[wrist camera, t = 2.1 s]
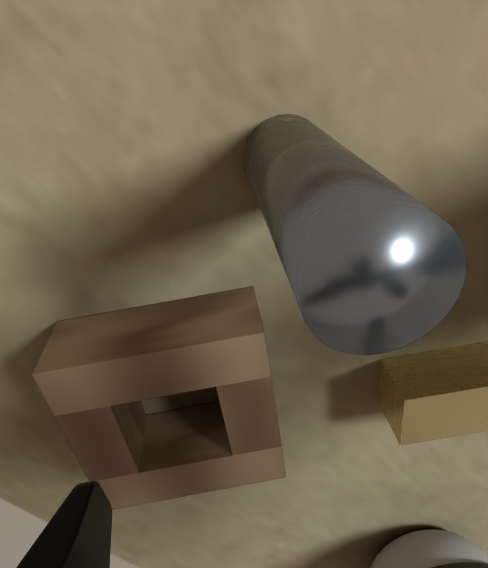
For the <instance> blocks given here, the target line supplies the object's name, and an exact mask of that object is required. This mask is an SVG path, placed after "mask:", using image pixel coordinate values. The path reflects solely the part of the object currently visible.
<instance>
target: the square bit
mask: <svg viewBox="0 0 488 568" xmlns="http://www.w3.org/2000/svg"><path fill="white" fill-rule="evenodd" d="M378 403H379V405H380V407H381V409H382V411H383V413H384V414H385V416H386V418H387V420H388V422H389V424H390V426H391V428H392V430H393V432H394V434H395V436H396V438H397V440H398V442H399V444H400V445H406V444H412V443H418V442H424V441H430V440H436V439H442V438H448V437H454V436H460V435H466V434H472V433H478V432H483V431H488V341H487V342H481V343H475V344H468V345H462V346H456V347H450V348H444V349H438V350H432V351H426V352H420V353H413V354H407V355H401V356H395V357H389V358H383V359H381V362H380V380H379V398H378Z"/></svg>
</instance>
